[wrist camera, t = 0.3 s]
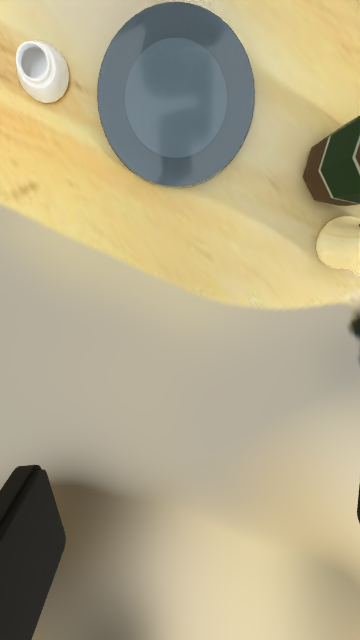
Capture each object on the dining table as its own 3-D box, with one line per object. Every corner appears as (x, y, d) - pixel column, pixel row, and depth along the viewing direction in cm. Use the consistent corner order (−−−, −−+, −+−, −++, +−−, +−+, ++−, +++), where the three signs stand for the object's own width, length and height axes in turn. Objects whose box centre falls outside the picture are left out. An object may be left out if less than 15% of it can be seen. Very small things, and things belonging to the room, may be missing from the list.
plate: (85, 20, 29) (82, 12, 28) (249, -3, 29) (252, -11, 28) (114, 195, 34) (111, 194, 33) (254, 179, 34) (257, 177, 33)
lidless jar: (18, 95, 31) (65, 110, 32) (2, 82, 29) (54, 99, 29) (24, 38, 30) (74, 55, 30) (8, 18, 27) (63, 38, 28)
